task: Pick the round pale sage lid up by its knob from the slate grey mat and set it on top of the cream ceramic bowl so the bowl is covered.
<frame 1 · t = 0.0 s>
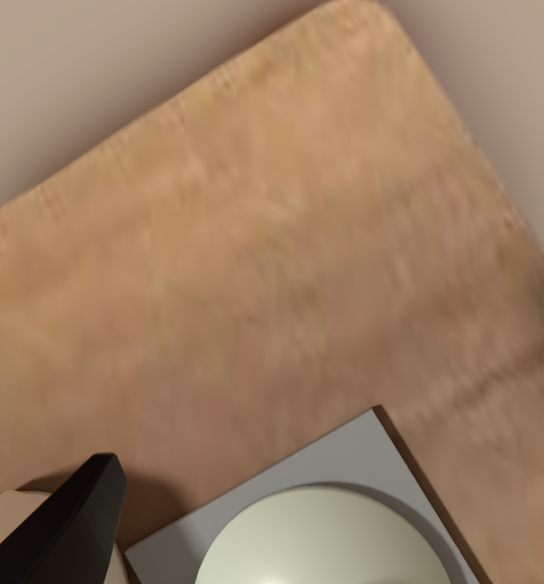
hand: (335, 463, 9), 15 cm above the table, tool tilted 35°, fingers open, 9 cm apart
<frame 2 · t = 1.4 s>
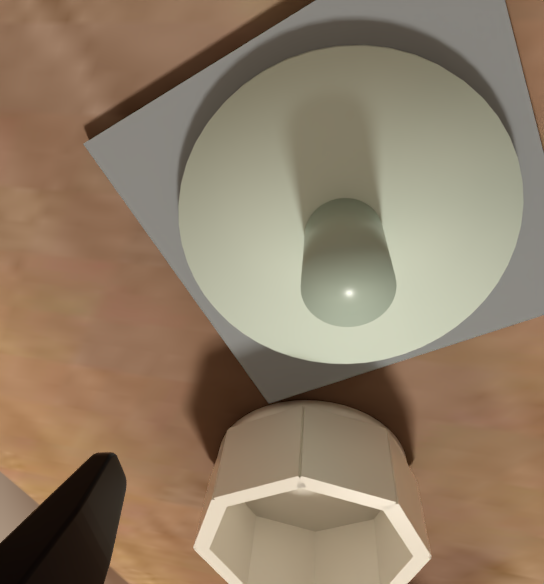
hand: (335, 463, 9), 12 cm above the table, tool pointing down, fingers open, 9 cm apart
bowl: (310, 468, 28), on the table
mat: (342, 221, 19), on the table
lid: (342, 226, 19), resting on mat
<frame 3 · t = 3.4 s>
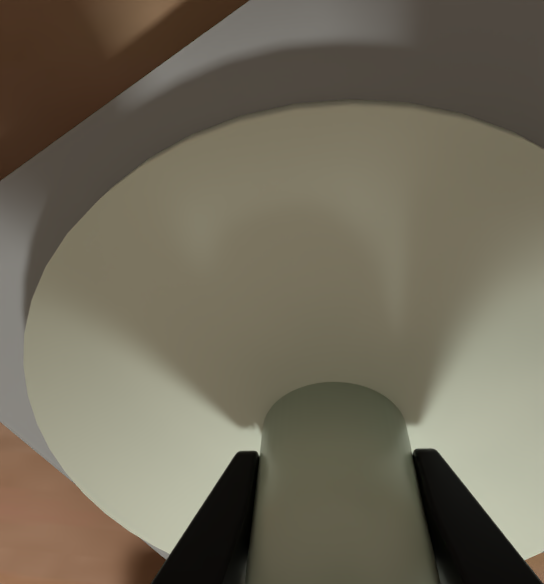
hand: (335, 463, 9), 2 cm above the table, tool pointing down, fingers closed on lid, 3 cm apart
mat: (330, 391, 11), on the table
lid: (332, 407, 11), point 1 cm above the table, touching gripper, mat
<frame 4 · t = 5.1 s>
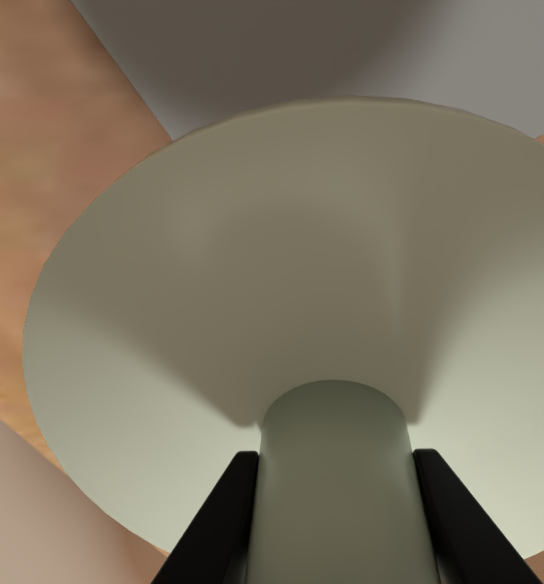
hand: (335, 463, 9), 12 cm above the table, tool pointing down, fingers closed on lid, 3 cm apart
lid: (332, 405, 11), point 11 cm above the table, touching gripper
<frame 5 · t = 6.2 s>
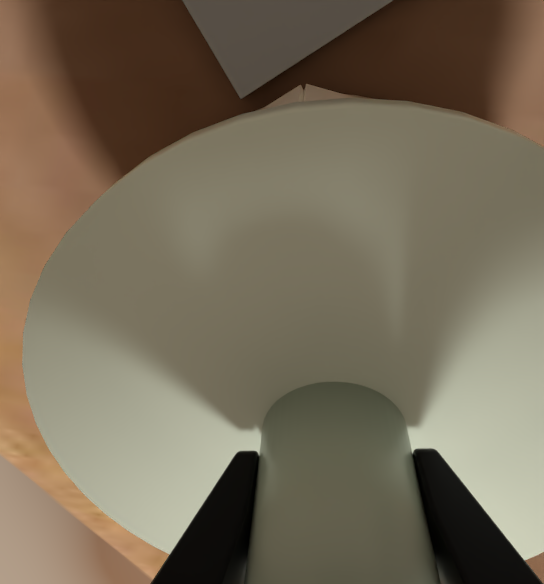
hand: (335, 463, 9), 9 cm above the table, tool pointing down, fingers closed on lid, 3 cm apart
bowl: (323, 260, 17), on the table
lid: (332, 407, 11), point 7 cm above the table, touching gripper
when the fingers open (8 cm above the table, at t = 7.0 s): lid drops 1 cm, resting on bowl.
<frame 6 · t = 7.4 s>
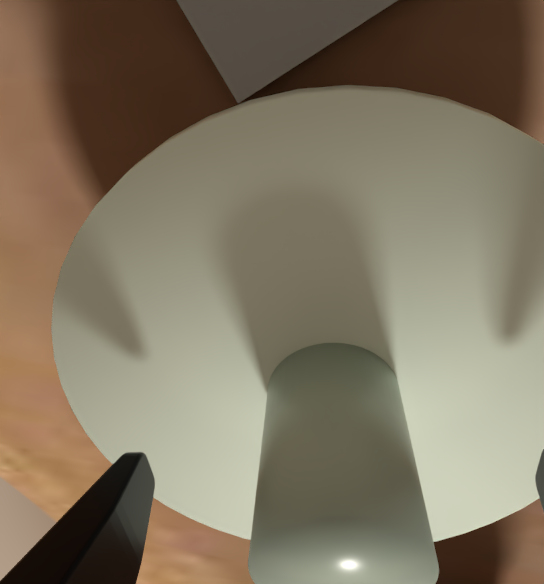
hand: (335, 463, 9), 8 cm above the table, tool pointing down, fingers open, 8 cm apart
lid: (331, 371, 12), point 5 cm above the table, touching bowl
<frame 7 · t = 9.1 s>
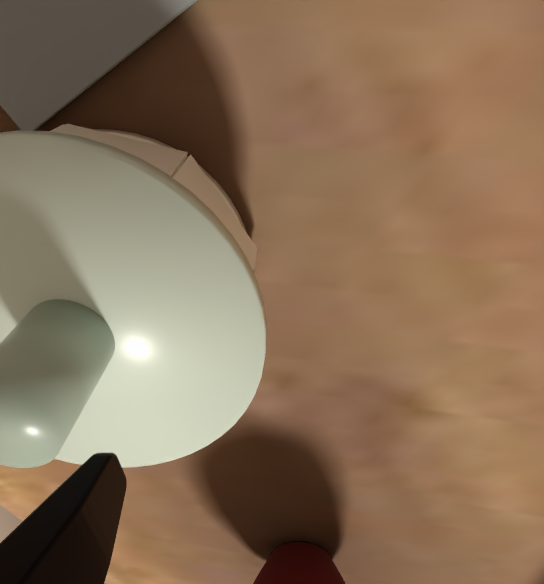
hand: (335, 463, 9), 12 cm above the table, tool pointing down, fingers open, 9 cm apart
bowl: (126, 258, 21), on the table
lid: (80, 323, 16), point 5 cm above the table, touching bowl
mug: (309, 564, 32), on the table
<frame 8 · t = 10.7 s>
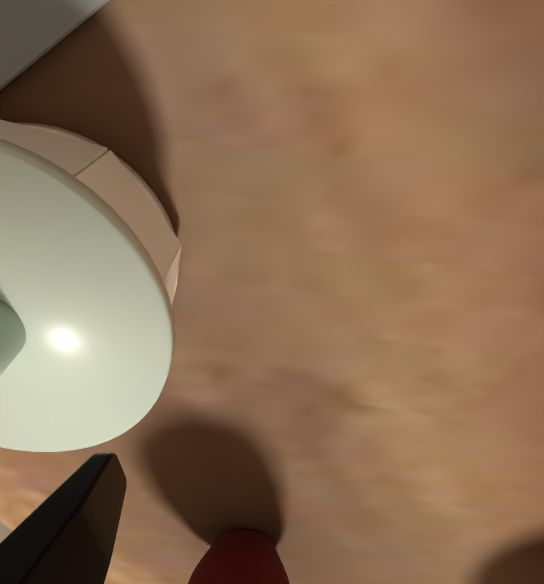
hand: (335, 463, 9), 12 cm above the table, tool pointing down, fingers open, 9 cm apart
bowl: (58, 249, 21), on the table
mug: (255, 551, 33), on the table
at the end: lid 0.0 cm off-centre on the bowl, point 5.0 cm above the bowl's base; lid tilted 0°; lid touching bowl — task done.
